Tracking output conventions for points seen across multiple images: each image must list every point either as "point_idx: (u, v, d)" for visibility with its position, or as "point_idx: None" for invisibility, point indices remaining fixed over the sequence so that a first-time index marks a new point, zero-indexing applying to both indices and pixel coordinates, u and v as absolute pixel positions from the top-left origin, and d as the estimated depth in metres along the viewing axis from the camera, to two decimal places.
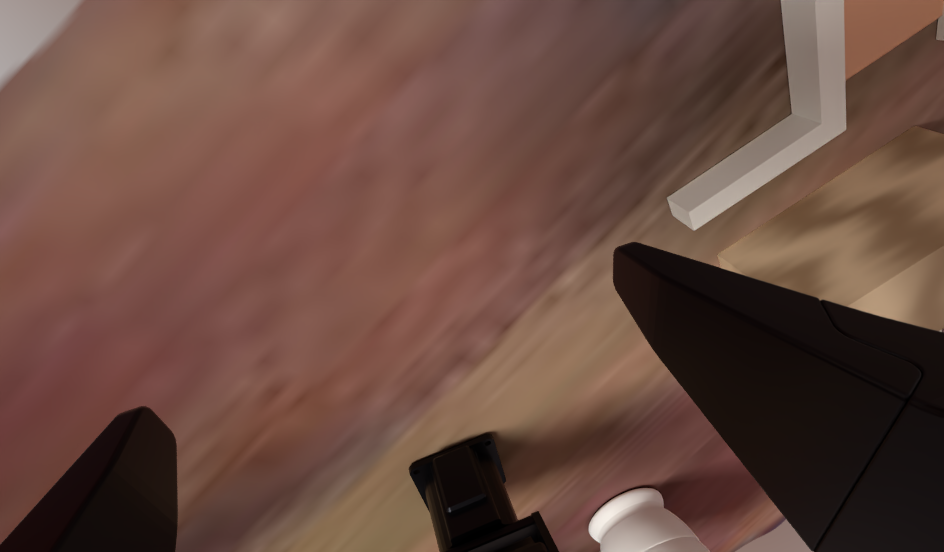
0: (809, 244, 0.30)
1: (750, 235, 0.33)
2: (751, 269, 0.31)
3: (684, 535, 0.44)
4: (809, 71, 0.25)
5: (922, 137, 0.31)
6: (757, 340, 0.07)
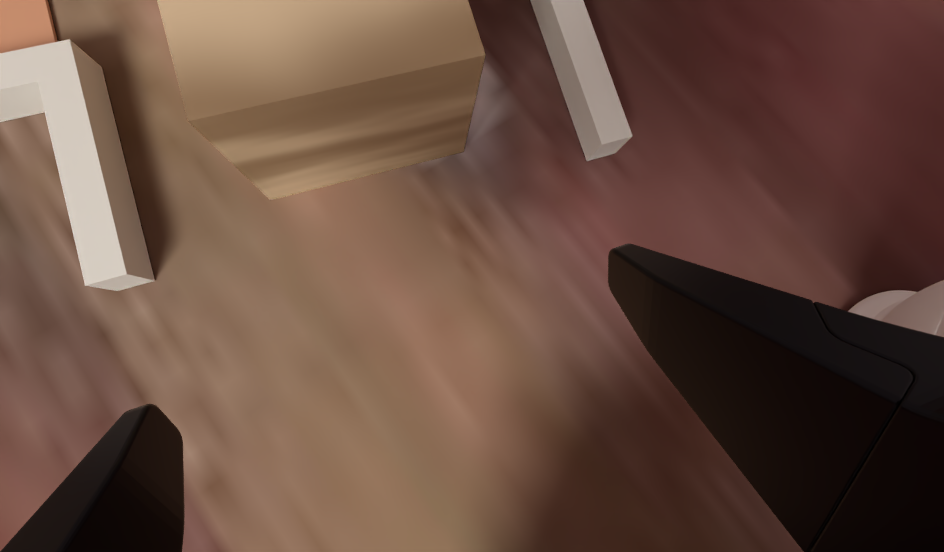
0: None
1: None
2: None
3: (942, 310, 0.18)
4: None
5: None
6: (750, 343, 0.07)
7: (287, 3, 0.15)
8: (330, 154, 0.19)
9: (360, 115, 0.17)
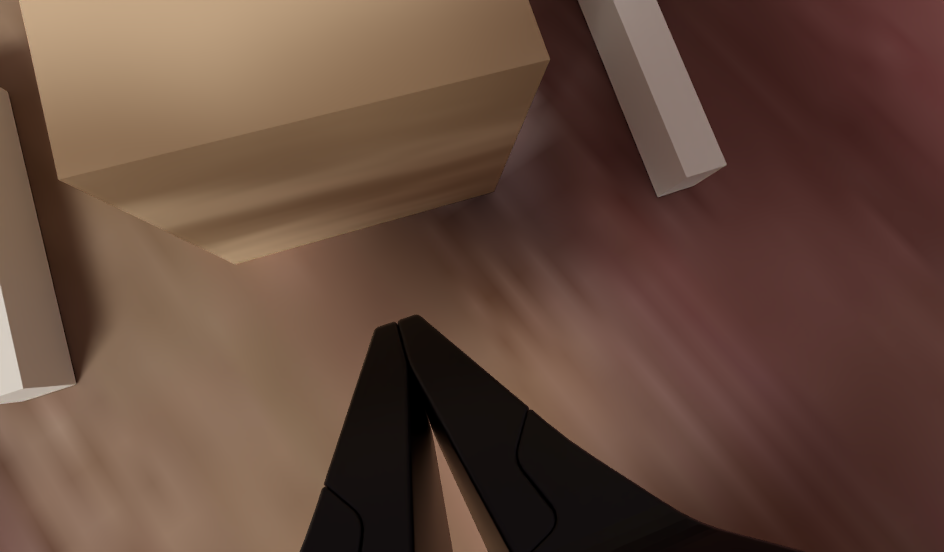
0: None
1: None
2: None
3: None
4: None
5: None
6: (455, 455, 0.06)
7: None
8: (312, 207, 0.13)
9: (351, 155, 0.11)
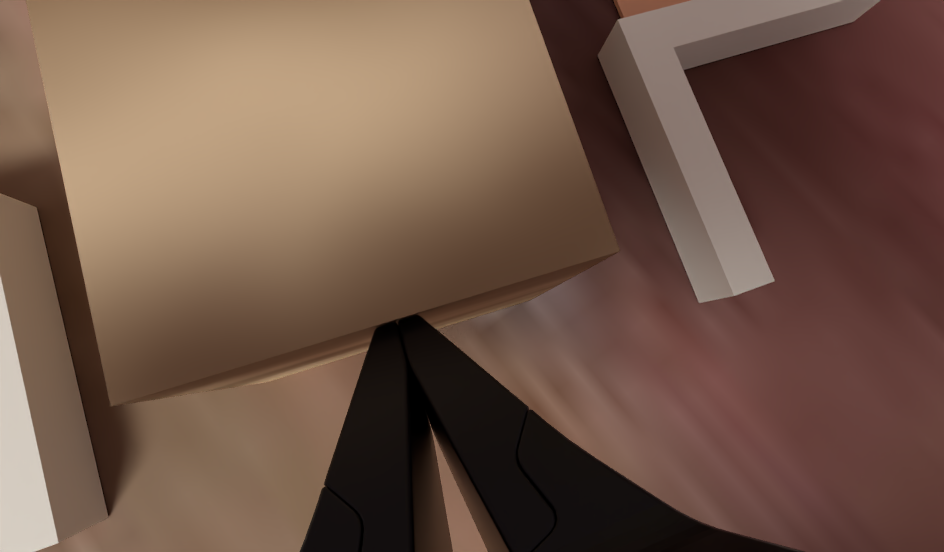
0: None
1: None
2: None
3: None
4: None
5: None
6: (455, 456, 0.06)
7: (287, 179, 0.09)
8: (353, 348, 0.13)
9: None
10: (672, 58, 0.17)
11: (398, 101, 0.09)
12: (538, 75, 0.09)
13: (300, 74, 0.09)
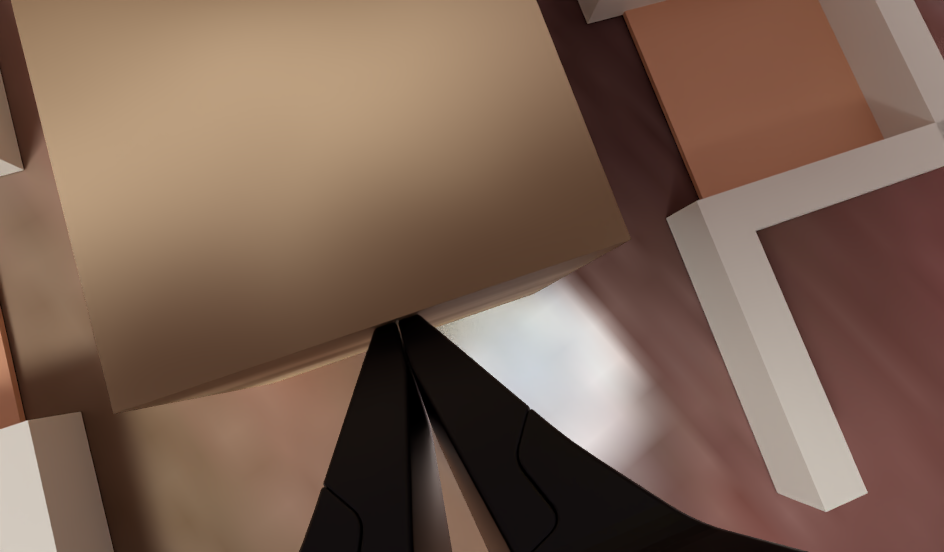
0: None
1: None
2: None
3: None
4: None
5: None
6: (456, 455, 0.06)
7: (288, 174, 0.08)
8: (358, 347, 0.12)
9: None
10: (754, 242, 0.16)
11: (399, 92, 0.09)
12: (541, 61, 0.09)
13: (297, 67, 0.09)
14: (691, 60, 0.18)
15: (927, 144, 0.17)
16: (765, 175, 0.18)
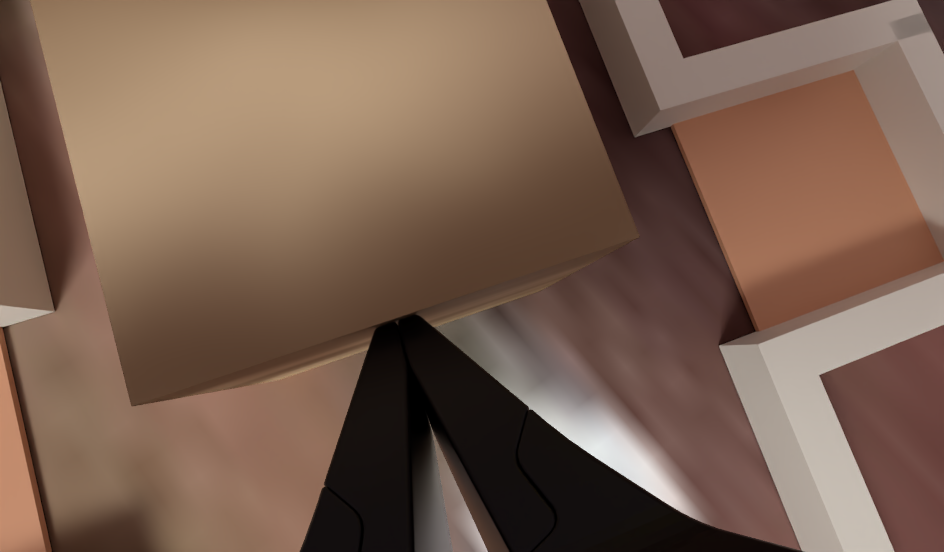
0: None
1: None
2: None
3: None
4: None
5: None
6: (455, 456, 0.06)
7: (302, 172, 0.09)
8: (366, 344, 0.13)
9: None
10: (818, 388, 0.15)
11: (412, 91, 0.09)
12: (552, 61, 0.09)
13: (312, 65, 0.09)
14: (742, 175, 0.18)
15: None
16: (820, 297, 0.17)
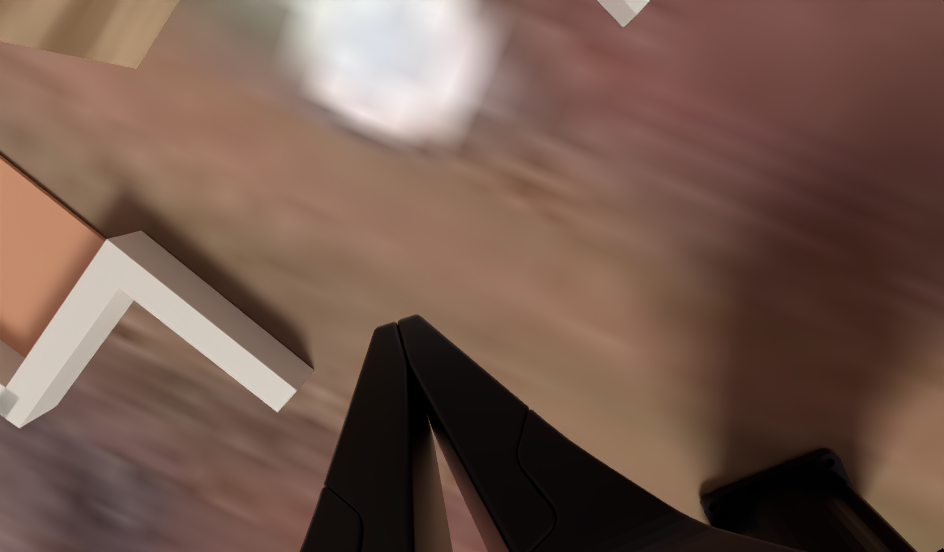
0: None
1: None
2: None
3: None
4: (94, 332, 0.22)
5: None
6: (455, 455, 0.06)
7: None
8: None
9: None
10: None
11: None
12: None
13: None
14: None
15: None
16: None
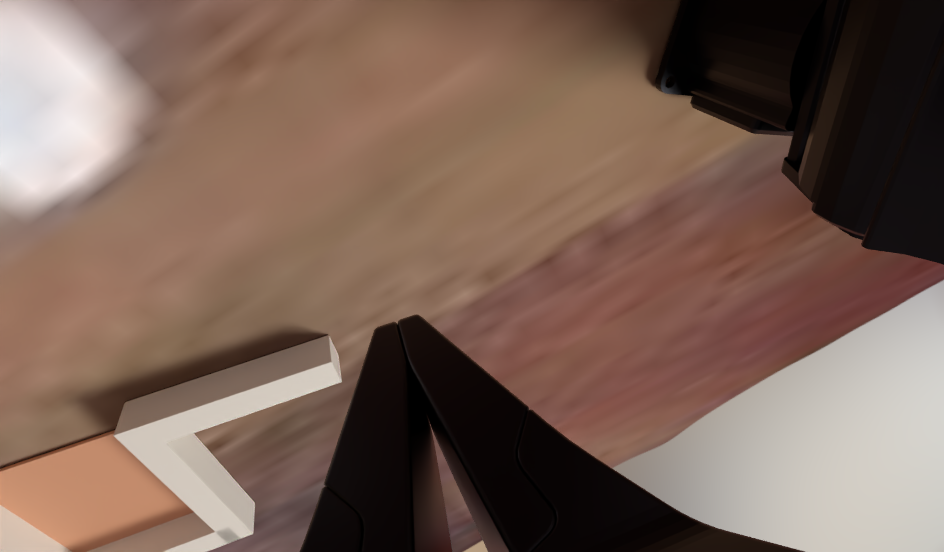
0: None
1: None
2: None
3: None
4: (200, 467, 0.25)
5: None
6: (455, 455, 0.06)
7: None
8: None
9: None
10: None
11: None
12: None
13: None
14: None
15: None
16: None
